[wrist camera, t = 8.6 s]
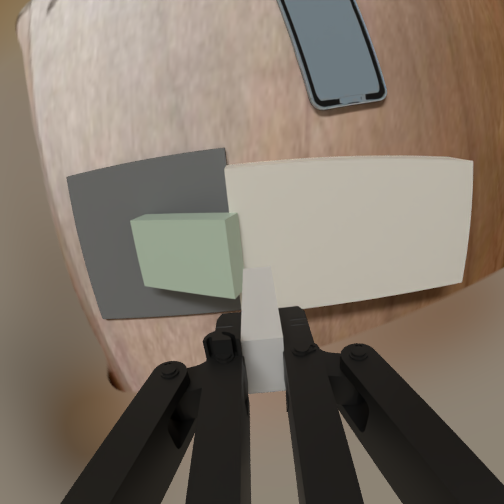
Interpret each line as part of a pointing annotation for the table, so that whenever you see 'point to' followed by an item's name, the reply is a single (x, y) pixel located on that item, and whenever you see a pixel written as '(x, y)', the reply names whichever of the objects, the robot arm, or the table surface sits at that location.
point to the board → (353, 224)
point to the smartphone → (333, 52)
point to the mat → (133, 206)
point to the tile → (190, 252)
